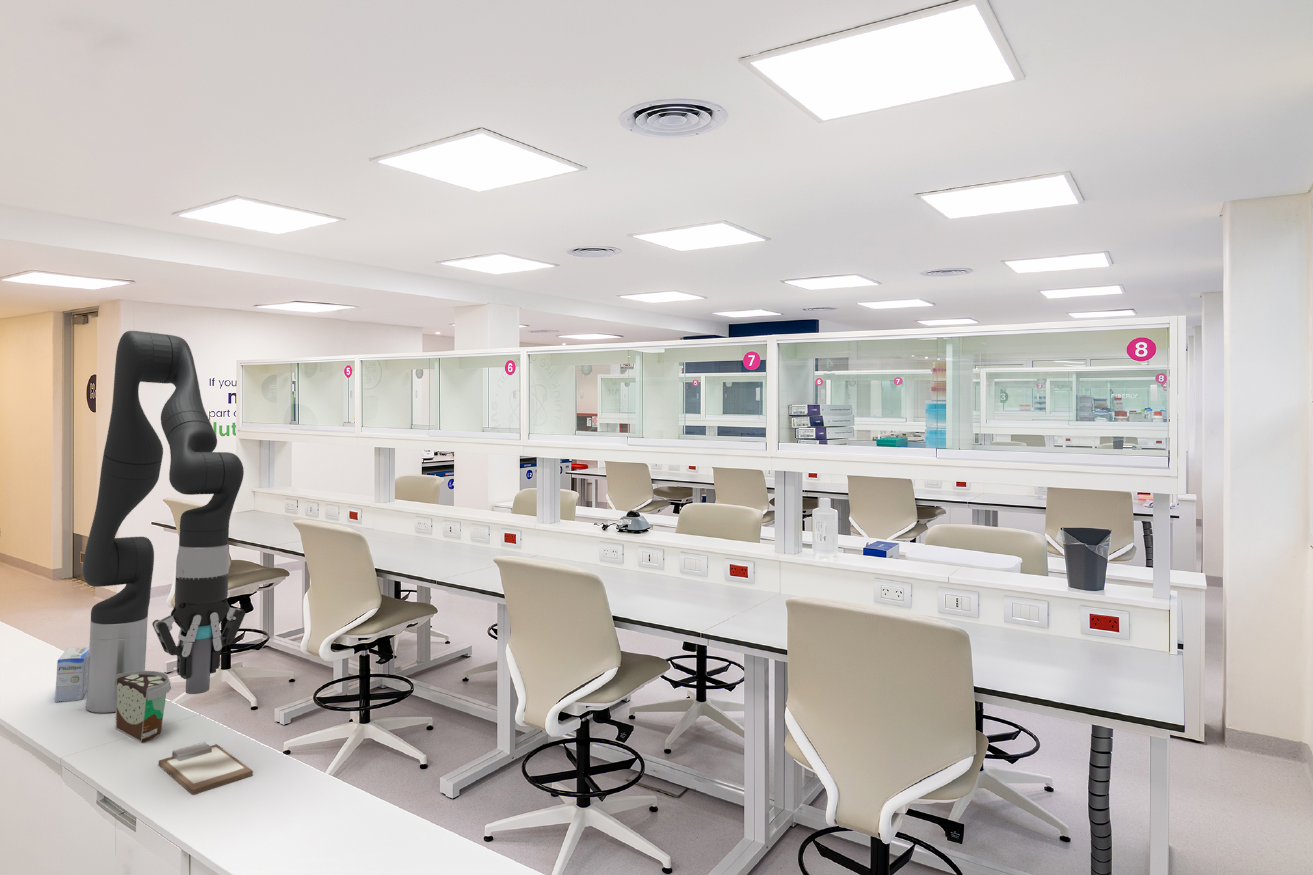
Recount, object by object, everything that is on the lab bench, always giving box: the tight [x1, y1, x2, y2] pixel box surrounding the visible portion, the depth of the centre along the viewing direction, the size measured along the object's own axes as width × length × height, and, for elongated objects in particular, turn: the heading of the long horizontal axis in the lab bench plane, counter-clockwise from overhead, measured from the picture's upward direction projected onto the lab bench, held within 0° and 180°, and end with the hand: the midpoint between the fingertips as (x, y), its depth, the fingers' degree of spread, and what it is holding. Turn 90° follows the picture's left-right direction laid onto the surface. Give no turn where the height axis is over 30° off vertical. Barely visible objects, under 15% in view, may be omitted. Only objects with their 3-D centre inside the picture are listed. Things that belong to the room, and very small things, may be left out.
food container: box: [114, 670, 172, 744], centre depth 136 cm, size 12×6×10 cm, turn 59°
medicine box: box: [54, 646, 89, 703], centre depth 150 cm, size 8×4×9 cm, turn 28°
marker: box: [185, 625, 212, 695], centre depth 123 cm, size 4×4×11 cm
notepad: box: [158, 741, 254, 796], centre depth 123 cm, size 14×9×2 cm, turn 52°
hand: (198, 674), depth 123 cm, fingers closed on marker, 3 cm apart
